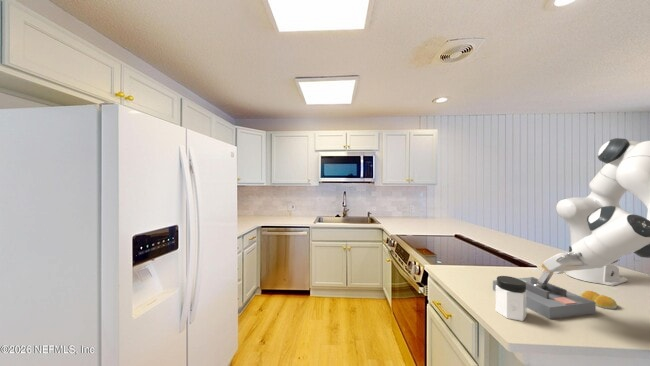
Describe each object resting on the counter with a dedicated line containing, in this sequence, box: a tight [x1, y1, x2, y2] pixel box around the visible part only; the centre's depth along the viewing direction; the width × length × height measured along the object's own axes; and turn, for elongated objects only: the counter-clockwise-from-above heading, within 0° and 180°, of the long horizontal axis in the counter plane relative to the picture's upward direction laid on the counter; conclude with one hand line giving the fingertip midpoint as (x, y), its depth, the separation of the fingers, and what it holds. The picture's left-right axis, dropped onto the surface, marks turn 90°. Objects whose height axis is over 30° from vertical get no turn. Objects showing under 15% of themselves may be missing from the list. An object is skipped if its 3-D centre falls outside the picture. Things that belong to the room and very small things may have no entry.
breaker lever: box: [532, 263, 554, 290], centre depth 91 cm, size 5×3×13 cm, turn 100°
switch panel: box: [492, 276, 597, 320], centre depth 93 cm, size 20×22×6 cm
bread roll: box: [579, 290, 618, 310], centre depth 91 cm, size 8×9×4 cm
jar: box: [495, 275, 528, 322], centre depth 83 cm, size 9×8×12 cm
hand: (556, 271), depth 86 cm, fingers closed, pressing on breaker lever
